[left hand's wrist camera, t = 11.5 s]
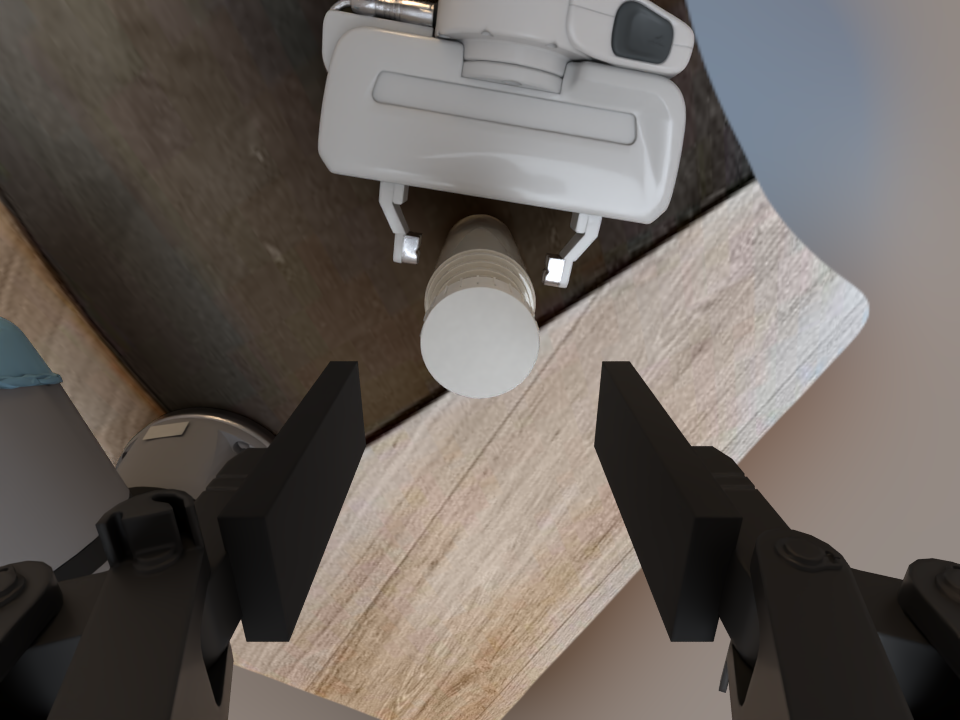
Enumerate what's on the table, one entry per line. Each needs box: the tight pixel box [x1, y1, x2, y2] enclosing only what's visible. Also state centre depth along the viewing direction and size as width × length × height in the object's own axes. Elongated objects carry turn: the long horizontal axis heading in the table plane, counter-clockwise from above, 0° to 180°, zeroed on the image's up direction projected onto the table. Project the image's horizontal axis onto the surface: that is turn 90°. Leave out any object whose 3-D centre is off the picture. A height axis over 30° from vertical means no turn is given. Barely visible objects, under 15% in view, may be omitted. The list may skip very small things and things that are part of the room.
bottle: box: [424, 214, 536, 313], centre depth 29 cm, size 5×5×20 cm
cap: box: [420, 275, 540, 398], centre depth 20 cm, size 5×5×2 cm
